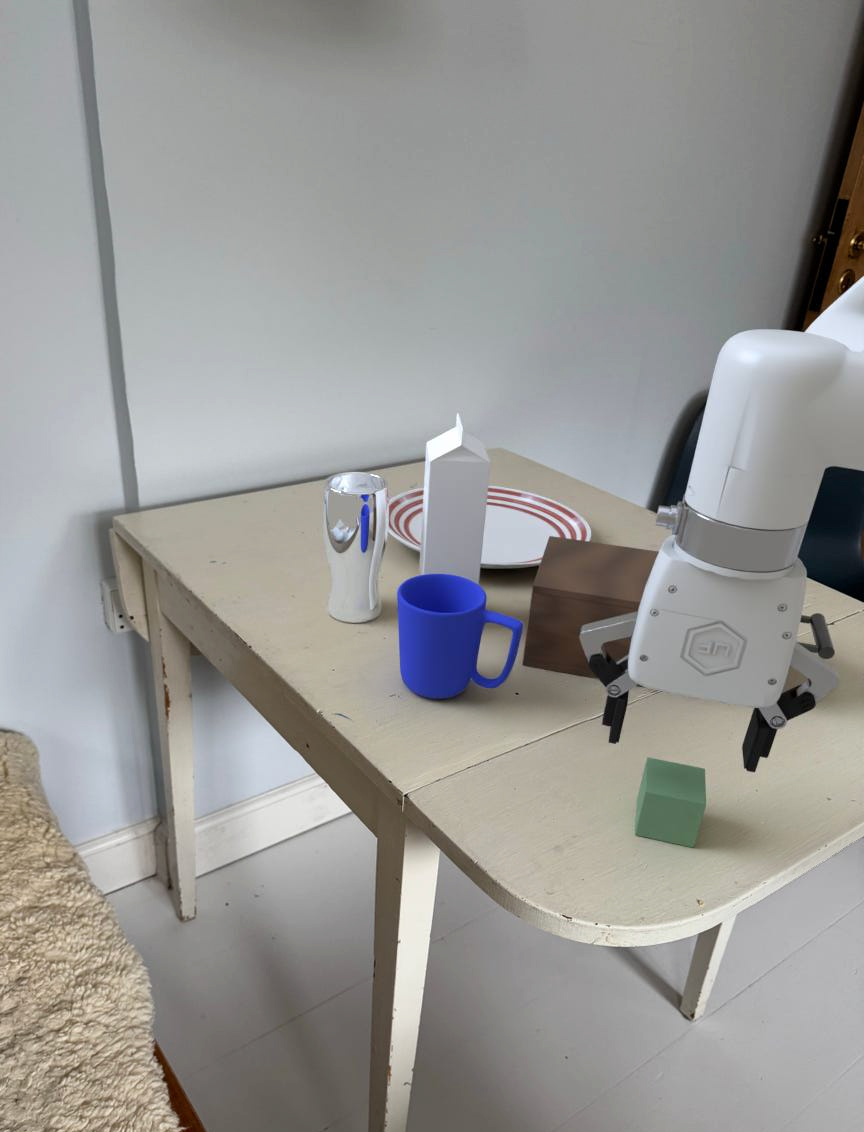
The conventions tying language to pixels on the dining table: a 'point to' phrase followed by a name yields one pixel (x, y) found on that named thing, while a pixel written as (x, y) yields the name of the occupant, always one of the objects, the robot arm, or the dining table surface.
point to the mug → (446, 635)
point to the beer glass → (355, 543)
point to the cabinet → (582, 600)
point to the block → (670, 802)
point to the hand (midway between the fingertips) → (679, 746)
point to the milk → (454, 505)
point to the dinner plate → (499, 525)
